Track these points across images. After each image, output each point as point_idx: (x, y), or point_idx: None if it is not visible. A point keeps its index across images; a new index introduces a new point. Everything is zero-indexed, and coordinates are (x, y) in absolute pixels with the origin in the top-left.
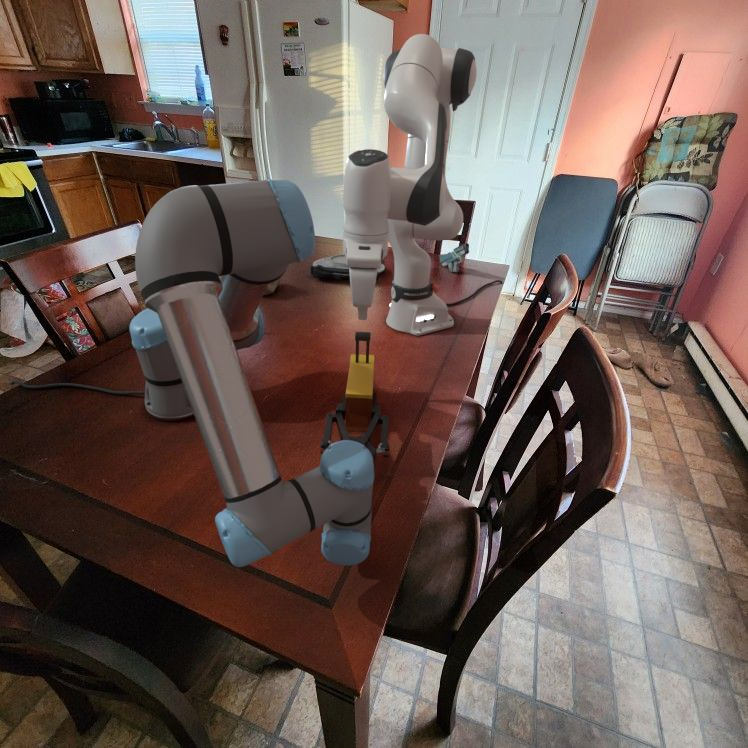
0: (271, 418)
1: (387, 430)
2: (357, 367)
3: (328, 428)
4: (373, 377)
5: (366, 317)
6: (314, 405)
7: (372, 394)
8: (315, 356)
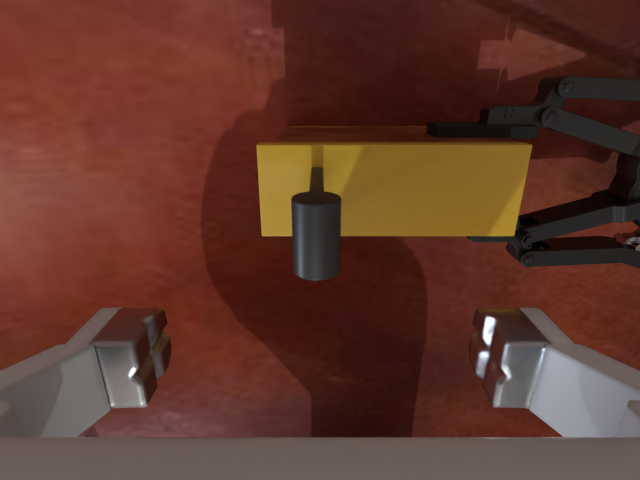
0: (409, 354)
1: (635, 81)
2: (353, 208)
3: (588, 255)
4: (309, 134)
5: (544, 317)
6: (361, 276)
7: (481, 140)
8: (137, 304)
